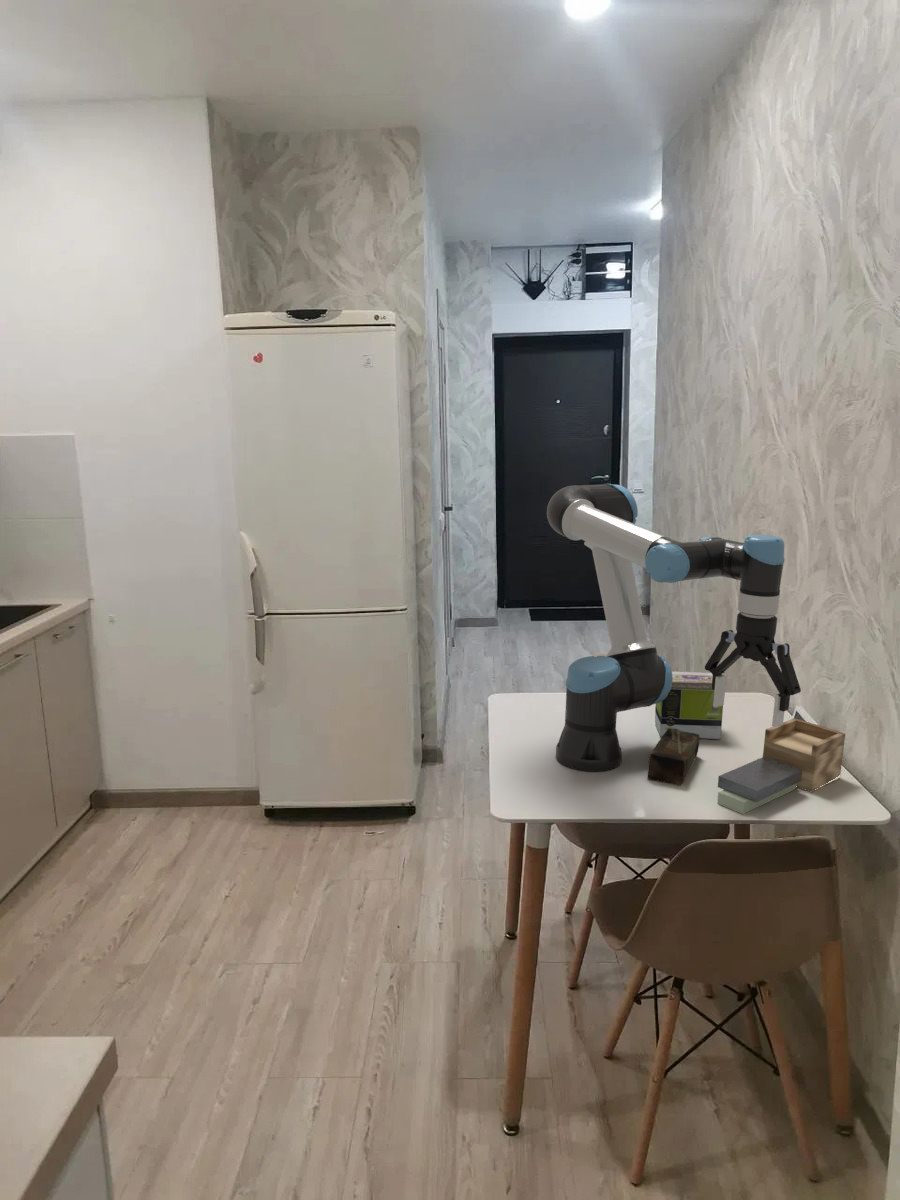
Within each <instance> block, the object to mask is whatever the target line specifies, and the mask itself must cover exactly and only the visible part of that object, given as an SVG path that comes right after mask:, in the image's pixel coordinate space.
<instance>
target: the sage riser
mask: <svg viewBox="0 0 900 1200" xmlns="http://www.w3.org/2000/svg"><path fill="white" fill-rule="evenodd" d="M796 785H797V783H796V784H794V785H792V786H790V787H788V788H786V789H784V790H781V791H779V792H777V793H775V794H773V795H771V796H769V797H767V798H765V799H763V800H761V801H758V802H754V801H751V800H749V799H746V798H744V797H741V796H739V795H736V794H734V793H731V792H729V791H726V790H724V789H721V790H720V791H718V793H717V805H721V806H723V807H725V808H727V809H730V810H733V811H735V812H737V813H739V814H742V815H744V814H746V813H748V812H750V811H752V810H754V809H757V808H758V807H760V806H763V805H766V804H767V803H769V802H771V801H773V800H775V799H777V798H779V797H782V796H784V795H787V794H788V793H790V792H792V791H794V790H796V789H797V787H796ZM795 788H796V789H795Z"/></svg>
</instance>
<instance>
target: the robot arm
mask: <svg viewBox="0 0 900 1200" xmlns="http://www.w3.org/2000/svg"><path fill="white" fill-rule="evenodd" d="M546 507H547V508H546V518H547V521H548V524H549V525H550V527H551V528H552V529H553V531H555V532H556V533H557V534H559V535H561V536H563V537H564V538H567V539H568V540H572V541H580V540H582V541H583V544H584V546H586V547H587V548H589V549H590V550H591V552H592V557H593V562H594V567H595V572H596V576H597V582H598V586H599V591H600V596H601V601H602V602H601V603H602V607H603V611H604V616H605V622H606V626H607V631H608V636H609V640H610V646H611V647H610V650H609V651H608V652H607V654H606V656H605V655H596V656H594V655H590V656H585V657H581V658H578V659H576V660H574V661H573V662H572V663H571V664H570V665H569V666H568V669H567V676H566V680H565V685H566V687H565V689H566V690H565V691H566V692H565V693H566V694H565V711H564V712H565V713H564V715H565V716H564V717H565V719H564V725H563V728H562V732H561V734H560V737H559V740H558V741H557V745H556V747H555V758H556V760H557V761H558V762H559V763H560V764H562V765H563V766H566V767H567V768H571V769H574V770H580V771H585V772H602V771H603V772H605V771H610V770H614V769H616V768H617V767H619V766H620V765H621V764H622V761H623V749H622V747H621V746H620V741H619V737H618V733H617V718H618V717H617V715H618V713H620V712H625V711H630V710H634V709H640V708H647V707H651V706H653V705H656V703H659V702H661V701H663V700H664V699H665V698H666V697H667V695H668V693H669V692H670V690H671V687H672V680H673V679H672V671H673V670H672V667H671V665H670V663H669V661H666V660H667V659H666V658H665V657H664V656H662V655H660V654H658V651H657V646H656V645H655V644H653V643H652V642H651V641H650V640H649V639H648V635H647V630H646V625H645V621H644V617H643V612H642V606H641V602H640V597H639V593H638V588H637V582H636V577H635V573H634V567H633V564H632V563H634V564H635V565H636V566H640V567H642V568H644V569H645V570H646V573H647V574H648V575H649V576H650V578H651V579H652V581H654V582H657V583H669V584H673V583H678V582H684V581H691V580H699V579H709V578H717V577H723V578H728V579H729V578H730V579H733V580H737V581H739V582H740V583H739V592H738V593H739V594H738V602H737V603H738V604H737V610H738V614H737V616H736V626H735V631H736V633H735V631H734V630H733V629H728V630H724V631H722V632H721V636H720V639H719V640H720V641H719V642H718V644H717V646H716V647H715V648H714V650H713V652H712V654H711V655H710V656H709V658H708V660H707V662H706V663H705V666H704V670H705V671H706V672H711V673H712V675H713V678H712V689H713V690H714V701H713V707H719V706H722V705H723V706H724V705H725V695H726V685H727V675H726V674H725V672H726V671H727V670H728V669H729V668H730V667H731V666H733V664H735V663H736V662H737V661H738V660H739V659H741V658H742V657H743V659H746V660H747V659H750V660H752V661H754V662H760V664H761V666H762V667H764V669H765V670H766V672H767V673H768V676H769V678H770V679H771V681H772V683H773V685H774V687H775V688H776V690H777V691H778V693H776V694H775V695H774V705H773V714H772V723H771V727H773V726H774V727H777V726H780V725H782V724H783V722H784V719H785V712H786V711H788V710H789V708H790V700H791V696H794V695H797V694H800V693H801V692H802V690H801V689H802V688H801V686H800V683H799V679H798V677H797V674H796V670H795V668H794V664H793V662H792V659H791V656H790V652H791V651H790V649H791V648H790V644H789V643H788V642H787V643H786V642H785V643H782V644H781V643H776V641H775V636H776V633H777V627H778V626H777V625H778V618H777V616H776V615H777V614H778V613H779V606H780V605H779V603H780V597H781V589H780V588H781V584H782V583H781V582H782V576H783V568H784V565H785V564H784V563H785V541H784V540H783V538H781V537H780V536H776V535H775V536H774V535H766V534H751V535H750V534H749V535H747V536H746V537H745V538H744V542H740V541H735V540H730V539H727V538H726V539H725V538H722V537H718V536H715V537H713V536H704V537H701V538H700V539H698V540H697V541H688V542H685V541H684V542H682V541H677V540H674V539H672V538H670V537H667V536H665V535H663V534H660V533H658V532H656V531H653V530H650V529H647V528H645V527H643V526H640V525H638V524H636V523H637V519H636V518H637V517H638V513H639V511H638V504H637V501H636V498H635V497H634V496H633V494H632V492H631V491H630V490H629V489H627V488H626V487H625V486H623V485H621V484H613V483H612V484H611V483H600V484H599V483H598V484H584V485H583V484H582V485H577V484H576V485H569V486H568V485H567V486H565V487H562V488H561V489H559V490H557V491H556V492H554V494H553V495H552V496H551V498H550V500H549V501H548V504H547V506H546ZM733 642H734V644H736V645H735V646H736V648H734V649H732V651H731V652H730V654H728V656H726V657H725V658H724V659H723V657H724V655H725V654H726V652H727V651H728V649H729V648H730V646H731V644H732V643H733ZM773 651H774V653H773ZM774 654H775V655H777V657H775V655H774ZM776 658H777V659H776ZM722 659H723V660H722ZM721 660H722V661H721ZM776 661H778V663H777V662H776ZM778 664H779V666H778Z"/></svg>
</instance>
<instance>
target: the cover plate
mask: <svg viewBox="0 0 900 1200" xmlns="http://www.w3.org/2000/svg"><path fill="white" fill-rule="evenodd" d="M801 777H802V770H800V769H797V768H795V767H792V766H789V765H786V764H783V763H780V762H777V761H775V760H772V759H769V758H766V757H763V756H762V757H759V758H758V759H755V760H753V761H751V762H748V763H746V764H744V765H742V766H739V767H737V768H734V769H732V770H730V771H728V772H727V771H726V772H725V773H722V774H720V775H718V778H717V779H718V781H717V788H719V789H721V790H726V791H729V792H731V793H734V794H736V795H739V796H741V797H744V798H746V799H749V800H751V801H754V802H758V801H761V800H763V799H765V798H767V797H769V796H771V795H773V794H775V793H777V792H779V791H781V790H784V789H786V788H788V787H790V786H792V785H794V784H796V783H798V782H800V781H801Z"/></svg>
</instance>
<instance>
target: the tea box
mask: <svg viewBox="0 0 900 1200" xmlns="http://www.w3.org/2000/svg"><path fill="white" fill-rule="evenodd" d="M712 678H713V675H712V673H711V672H710V671H678V670H677V671H676V670H675V671H673V670H672V679H673V680H672V687H671V690H670V692H669V693H668V695H667V697H666V698H665V699H664V700H663V701H661V702H659V703H656V704H655V711H654V714H655V715H654V723H655V726H656V729H657V731H658V734H659V737H661V738H662V736H663V735H664V734H665V732H666V731H667V730H668V729H674V728H676V729H679V730H680V731H684V732H690V733H695V734H699V739H710V740H721V738H722V729H723V728H722V724H723V712H724V710H723V709H724V705H722V706H719V707H713V701H714V690H713V689H712Z"/></svg>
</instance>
